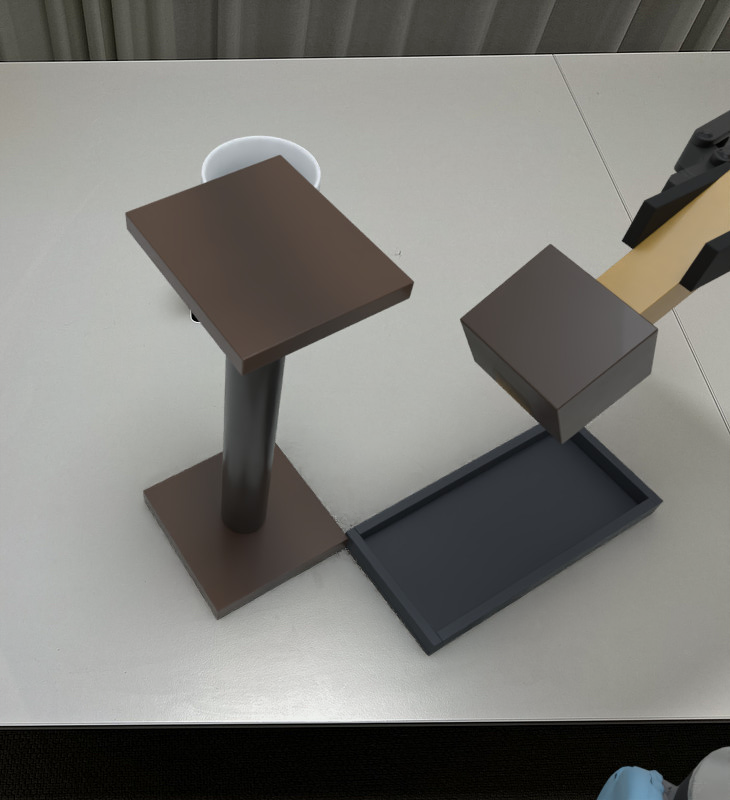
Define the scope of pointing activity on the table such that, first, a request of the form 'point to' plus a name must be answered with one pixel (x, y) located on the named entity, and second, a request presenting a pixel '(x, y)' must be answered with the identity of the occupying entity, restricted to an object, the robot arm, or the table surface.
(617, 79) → the table surface
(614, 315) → the mallet
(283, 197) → the pedestal stand
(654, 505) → the tray
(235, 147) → the mug
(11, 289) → the table surface
